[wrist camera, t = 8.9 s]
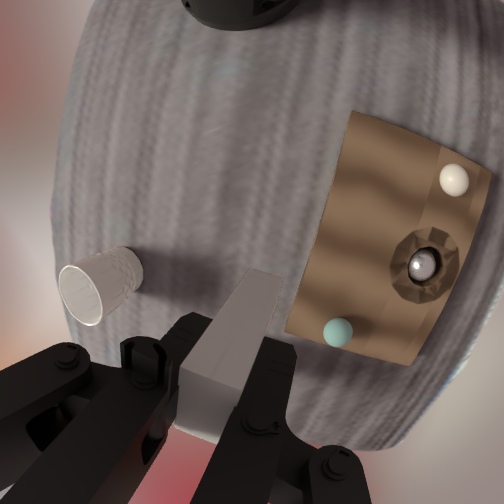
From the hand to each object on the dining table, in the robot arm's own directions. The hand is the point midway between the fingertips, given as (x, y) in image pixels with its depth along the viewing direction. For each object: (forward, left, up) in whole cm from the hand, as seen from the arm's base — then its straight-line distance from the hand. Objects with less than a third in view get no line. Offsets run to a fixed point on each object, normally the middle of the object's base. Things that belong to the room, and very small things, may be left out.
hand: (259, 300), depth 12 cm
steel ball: (0, +14, -18) cm, 23 cm away
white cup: (+14, -21, -20) cm, 32 cm away
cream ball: (-9, +14, -16) cm, 23 cm away
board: (0, +11, -20) cm, 23 cm away
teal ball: (+10, +8, -16) cm, 20 cm away
